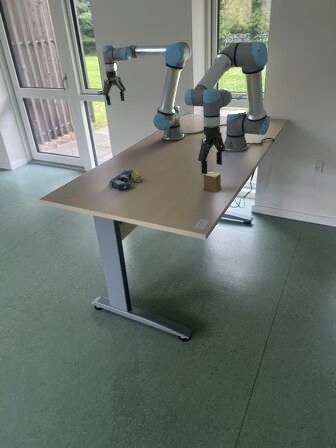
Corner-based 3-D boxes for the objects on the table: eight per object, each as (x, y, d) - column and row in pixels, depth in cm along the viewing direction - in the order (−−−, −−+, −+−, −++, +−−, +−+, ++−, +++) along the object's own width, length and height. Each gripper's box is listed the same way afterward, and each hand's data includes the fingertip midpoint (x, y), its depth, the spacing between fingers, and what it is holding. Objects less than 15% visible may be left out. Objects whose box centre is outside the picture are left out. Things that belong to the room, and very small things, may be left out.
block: (209, 185, 173) (209, 171, 169) (220, 188, 170) (220, 173, 165) (204, 189, 170) (203, 174, 166) (215, 192, 166) (215, 177, 162)
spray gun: (148, 176, 189) (126, 173, 196) (147, 169, 187) (125, 167, 194) (129, 192, 174) (105, 189, 180) (127, 185, 172) (104, 182, 178)
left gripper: (120, 67, 238) (124, 99, 249) (93, 73, 221) (99, 106, 232) (127, 68, 233) (131, 99, 244) (101, 73, 217) (106, 107, 228)
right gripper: (218, 118, 163) (218, 159, 174) (189, 131, 147) (191, 176, 158) (232, 119, 159) (231, 162, 170) (203, 133, 143) (204, 179, 154)
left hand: (116, 103), depth 238 cm, fingers open, 13 cm apart
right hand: (211, 168), depth 164 cm, fingers open, 13 cm apart
